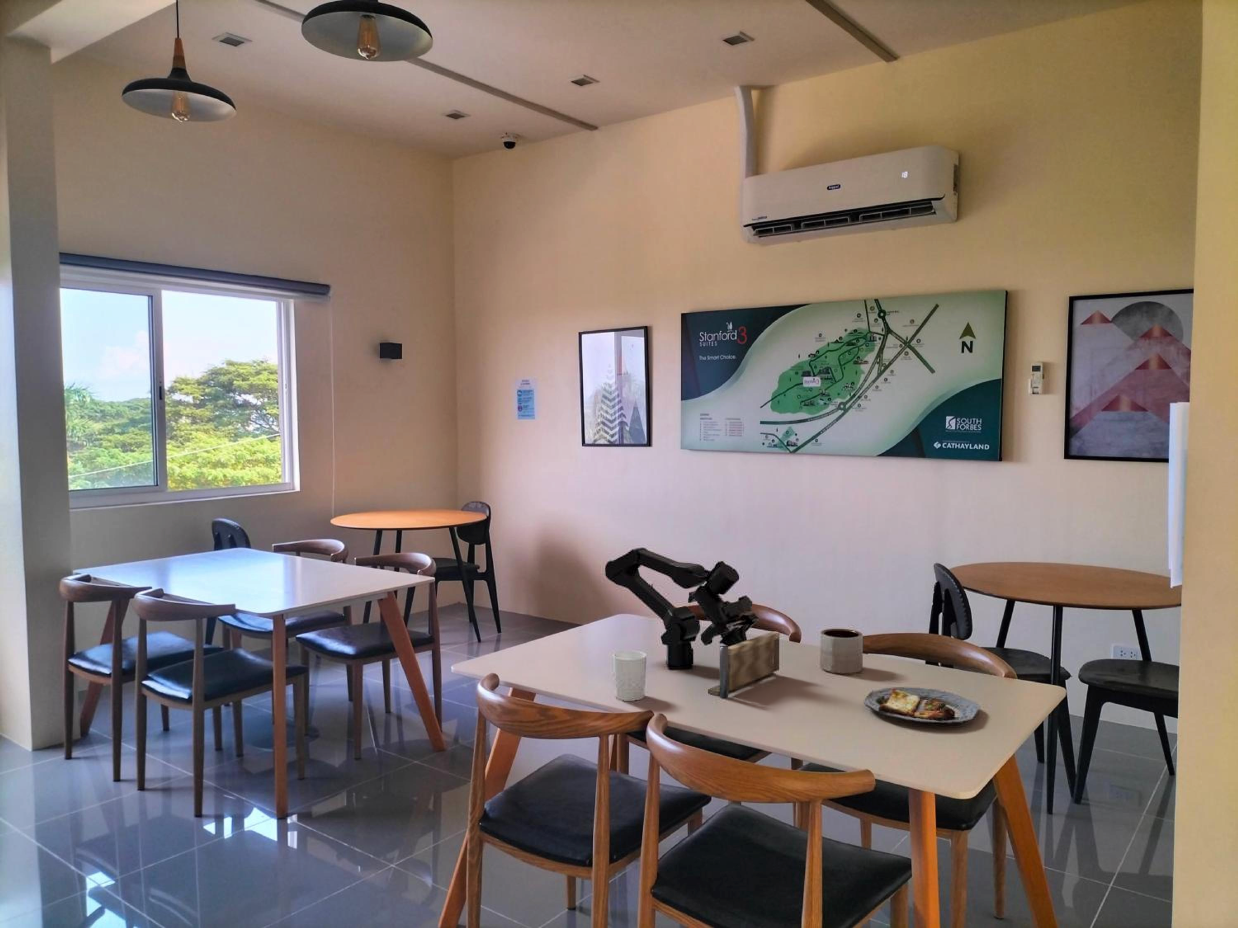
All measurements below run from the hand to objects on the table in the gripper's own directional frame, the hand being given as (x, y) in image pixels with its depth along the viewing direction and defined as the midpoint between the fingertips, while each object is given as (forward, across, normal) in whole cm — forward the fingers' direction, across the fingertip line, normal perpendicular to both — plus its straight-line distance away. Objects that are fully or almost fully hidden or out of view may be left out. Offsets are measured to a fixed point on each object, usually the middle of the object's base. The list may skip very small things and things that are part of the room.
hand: (749, 655), depth 214 cm
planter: (+13, +26, -3) cm, 29 cm away
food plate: (+34, +6, -24) cm, 42 cm away
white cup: (-6, -28, +16) cm, 33 cm away
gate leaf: (+5, -1, +2) cm, 6 cm away
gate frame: (+5, -2, +5) cm, 7 cm away
